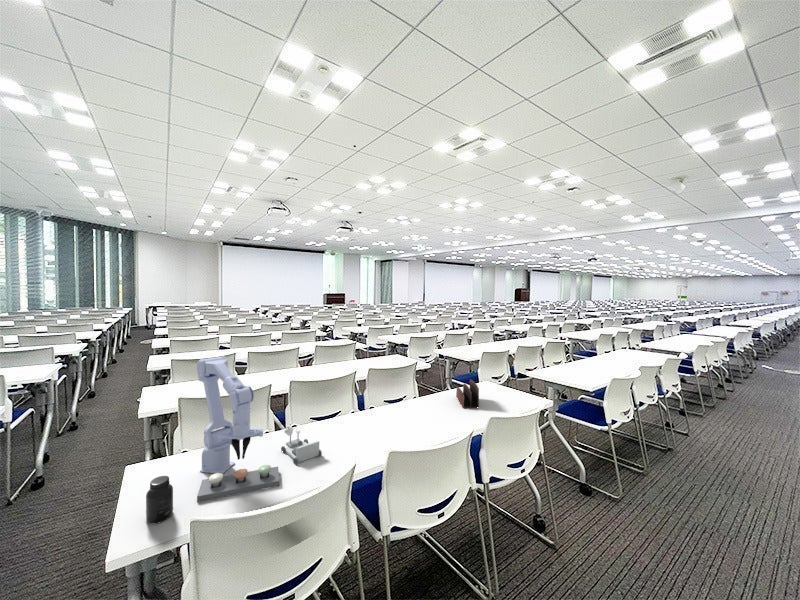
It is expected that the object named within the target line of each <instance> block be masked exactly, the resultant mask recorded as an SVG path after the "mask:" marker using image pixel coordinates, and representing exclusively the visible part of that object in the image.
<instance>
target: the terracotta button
mask: <svg viewBox="0 0 800 600" xmlns="http://www.w3.org/2000/svg"><path fill="white" fill-rule="evenodd" d="M248 472H249V471H248V469H246V468H239V469H237V470H236V471H234V473H233V474H234V478H236V479H238V482H243V481H244V477H246V476H247V475H248Z"/></svg>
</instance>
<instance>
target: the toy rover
mask: <svg viewBox="0 0 800 600" xmlns="http://www.w3.org/2000/svg"><path fill="white" fill-rule="evenodd" d="M293 433H294V427H290V428H289V426H288V427H287V429H285V431H284V434H286V436H288V437H289V441H288V442H287V441H286V443H285V445H286V446H287V447H286V446H284V445H283V446H281V448H280V450H281V452H282V451H283V452H282V454H287V455H288V456H289V457H290V458H291V459H292V462H293V464H294V465H295V466H298V465H299V463H300V462H304V461H306V460H309V459H312V458H315V457H319V458H320V457H322V456H323V455H322V454H323V452H322V450H321V449H320V440H316V441H312V442H310V443H309V441H308V439H307V438H305V439H303V441H302V440H301V439H299V438H297V439H294V440H292V435H293ZM295 433H296V434H297V436H300V435H299V434H301V430H299V429H296V430H295Z"/></svg>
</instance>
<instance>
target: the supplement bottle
mask: <svg viewBox="0 0 800 600" xmlns="http://www.w3.org/2000/svg"><path fill="white" fill-rule="evenodd" d="M173 513H174V486H173V485H172V483H171V484H170V477H169V476H168V475H161V476H160V475H159V476H157V477H155V478H153V479H151V481H150V483H149V489H148V491H147V492H146V495H145V519H146V520H145V521H146V522H147V523H148V524H150V523H156V524H160V523H162V521H163V522H165V521H166V520H168V519H169V518H170V517H172V515H173ZM167 518H168V519H167ZM164 520H165V521H164ZM159 522H160V523H159Z"/></svg>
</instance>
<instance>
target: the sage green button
mask: <svg viewBox="0 0 800 600" xmlns="http://www.w3.org/2000/svg"><path fill="white" fill-rule="evenodd" d="M271 468H272V466H271V465H270V464H264V465H261V466H259V467H258V469H257V470H258V473H259V474H261V475H262V478H266V477H267V474H268V473H269V472H270V471H271Z"/></svg>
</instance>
